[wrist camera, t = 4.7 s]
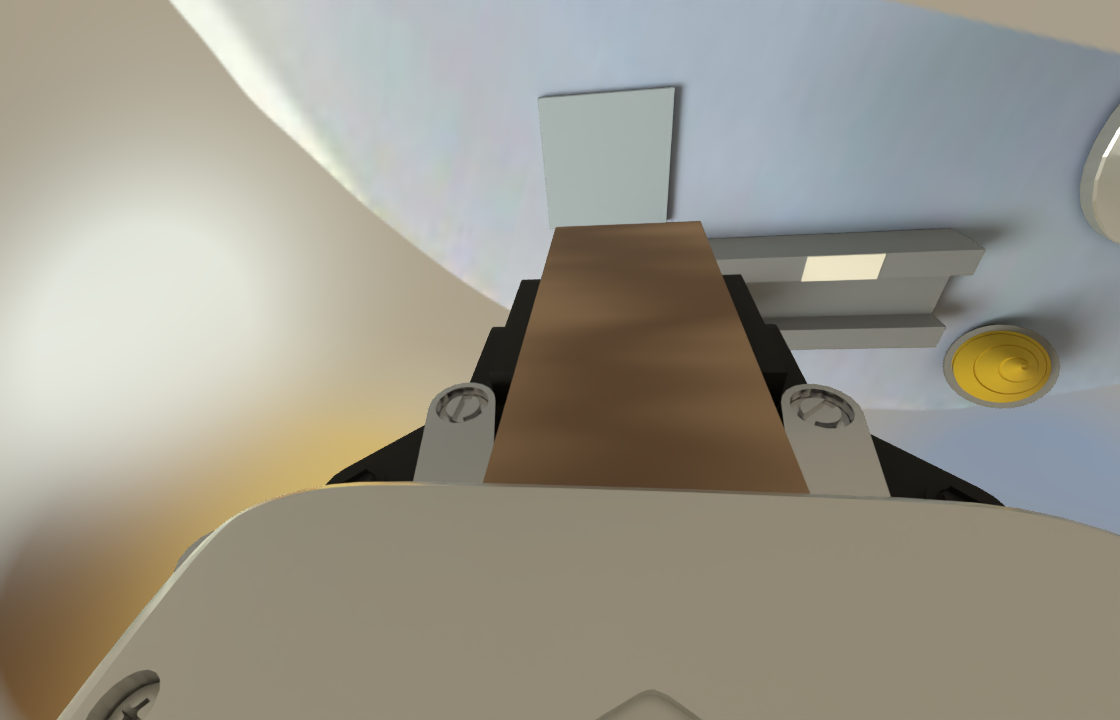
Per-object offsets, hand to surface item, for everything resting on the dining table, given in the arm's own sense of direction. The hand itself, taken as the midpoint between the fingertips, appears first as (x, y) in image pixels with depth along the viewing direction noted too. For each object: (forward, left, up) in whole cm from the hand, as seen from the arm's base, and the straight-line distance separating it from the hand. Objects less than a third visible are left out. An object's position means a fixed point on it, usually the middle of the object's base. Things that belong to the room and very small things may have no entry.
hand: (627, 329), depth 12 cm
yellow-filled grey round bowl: (-24, +13, -17) cm, 32 cm away
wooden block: (0, 0, -2) cm, 2 cm away
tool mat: (0, 0, -17) cm, 17 cm away
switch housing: (-11, +8, -17) cm, 22 cm away
